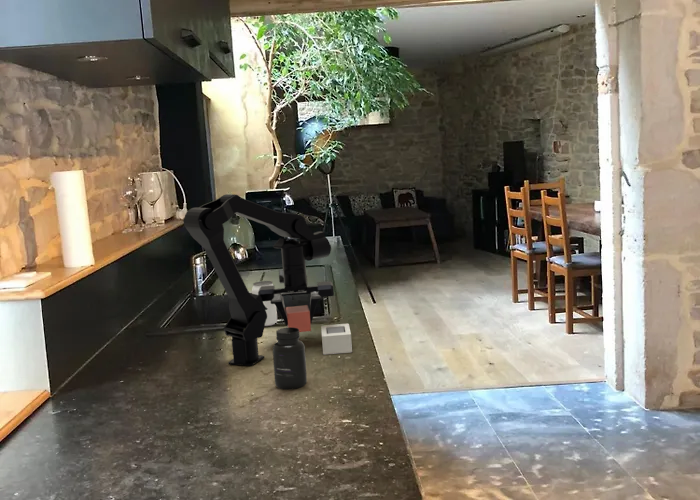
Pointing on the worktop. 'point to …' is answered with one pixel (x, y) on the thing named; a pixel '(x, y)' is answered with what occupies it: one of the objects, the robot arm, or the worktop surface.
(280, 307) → the robot arm
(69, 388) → the worktop surface
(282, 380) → the supplement bottle
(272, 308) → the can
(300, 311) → the salmon red block
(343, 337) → the box
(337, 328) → the button
